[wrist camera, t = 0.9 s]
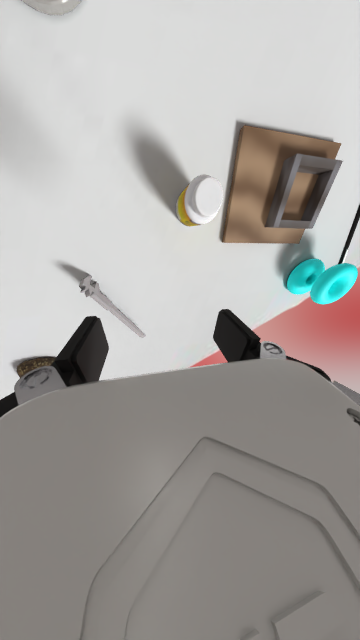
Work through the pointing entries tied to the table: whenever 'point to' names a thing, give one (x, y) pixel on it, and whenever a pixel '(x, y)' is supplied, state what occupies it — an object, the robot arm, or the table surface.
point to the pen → (350, 237)
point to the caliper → (106, 303)
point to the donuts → (322, 280)
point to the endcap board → (278, 185)
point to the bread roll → (33, 365)
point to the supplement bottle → (199, 201)
